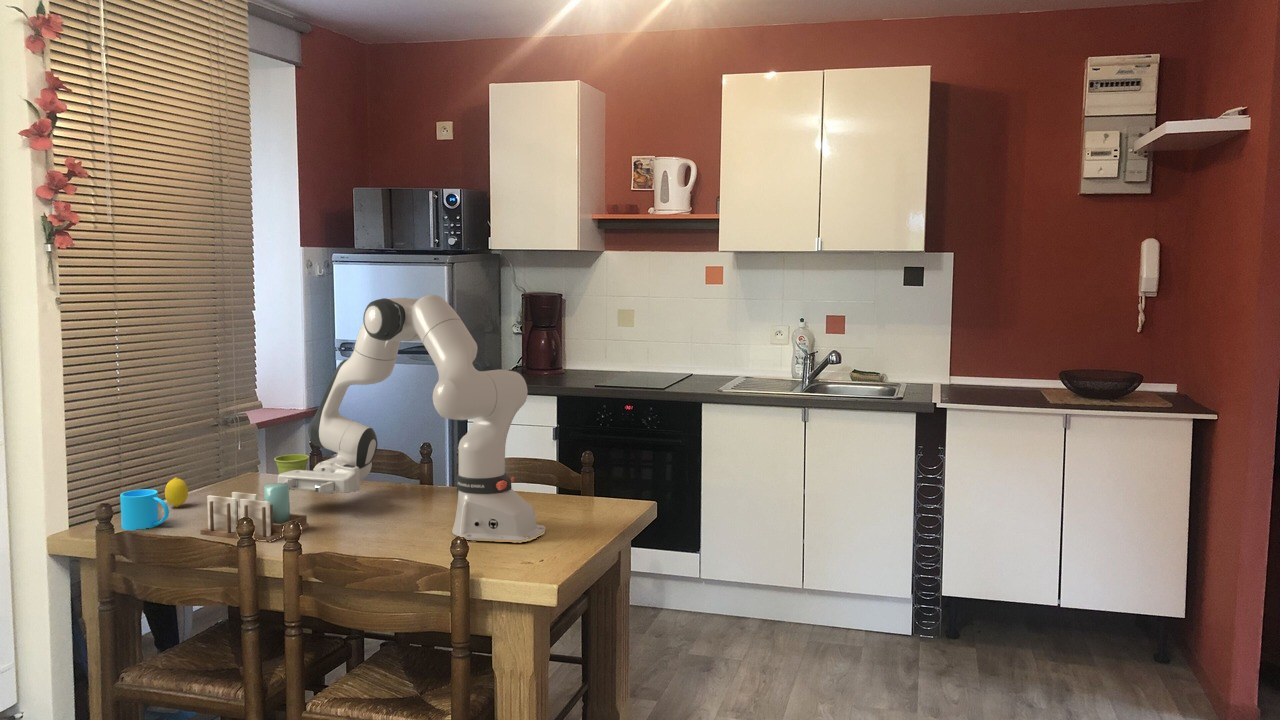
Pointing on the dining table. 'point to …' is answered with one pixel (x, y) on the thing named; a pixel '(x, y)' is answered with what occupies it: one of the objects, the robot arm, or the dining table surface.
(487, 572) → the dining table surface
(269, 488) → the teal glossy cylinder
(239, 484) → the dining table surface
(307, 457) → the plant pot
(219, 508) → the rack
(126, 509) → the mug
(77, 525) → the dining table surface
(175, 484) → the lemon
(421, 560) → the dining table surface
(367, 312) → the robot arm
